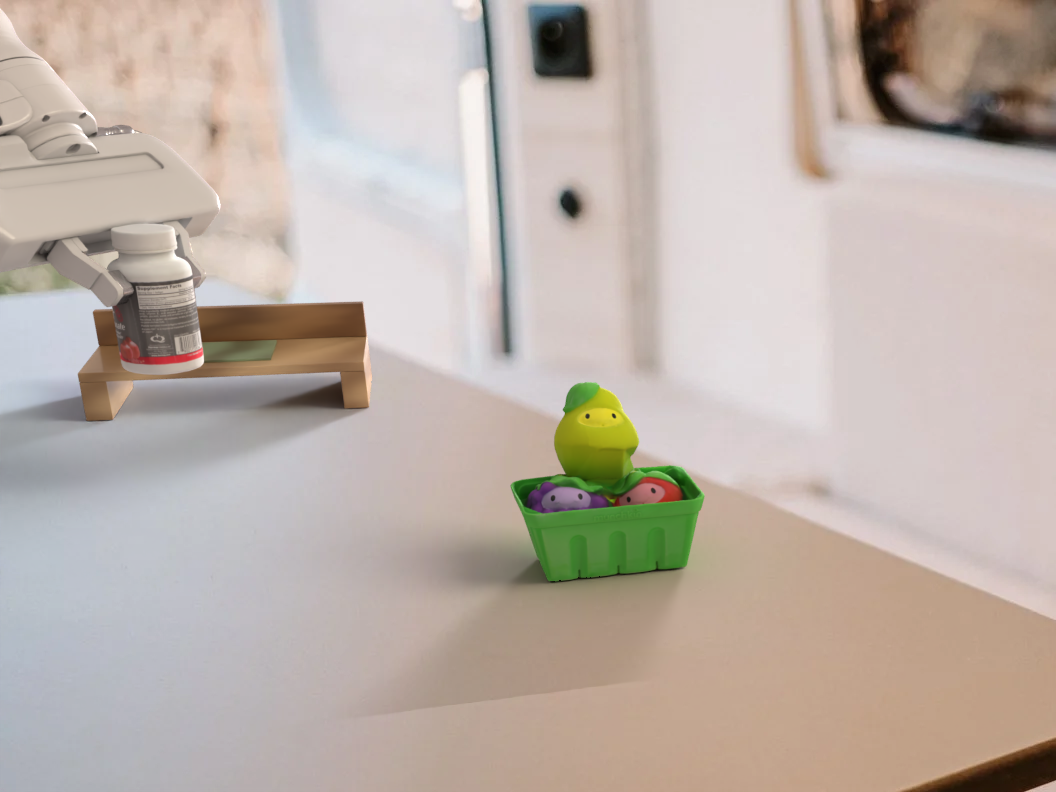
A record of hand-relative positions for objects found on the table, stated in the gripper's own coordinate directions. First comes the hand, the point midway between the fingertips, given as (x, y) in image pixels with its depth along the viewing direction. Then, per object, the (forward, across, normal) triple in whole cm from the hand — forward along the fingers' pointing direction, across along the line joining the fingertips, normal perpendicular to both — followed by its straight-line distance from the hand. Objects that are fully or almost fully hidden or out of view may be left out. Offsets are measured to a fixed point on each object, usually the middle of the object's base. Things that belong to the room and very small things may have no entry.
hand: (159, 292), depth 112 cm
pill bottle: (+4, 0, -4) cm, 6 cm away
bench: (0, -21, -20) cm, 29 cm away
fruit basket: (+35, +2, +16) cm, 39 cm away
